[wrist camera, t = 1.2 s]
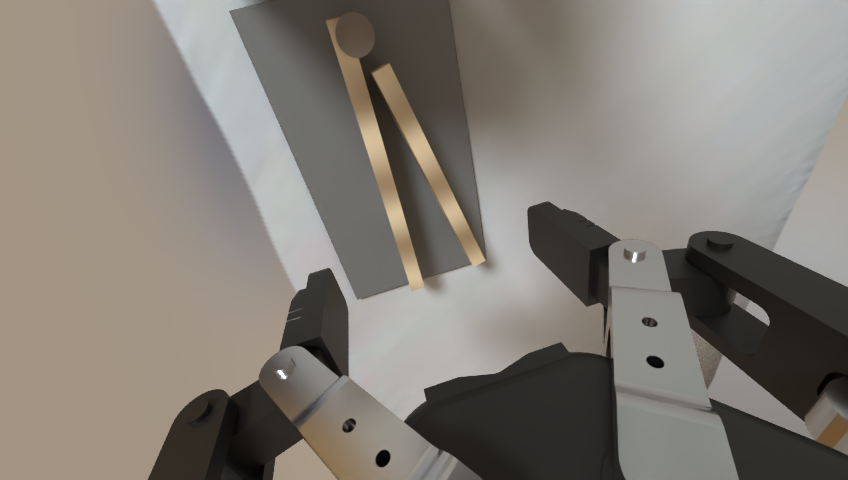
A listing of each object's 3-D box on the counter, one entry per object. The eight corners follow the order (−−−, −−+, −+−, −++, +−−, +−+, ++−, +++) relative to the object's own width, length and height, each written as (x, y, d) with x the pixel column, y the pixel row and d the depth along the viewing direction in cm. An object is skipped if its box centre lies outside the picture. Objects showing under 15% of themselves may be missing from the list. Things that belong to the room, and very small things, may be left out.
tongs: (328, 25, 24) (324, 18, 20) (365, 16, 24) (368, 7, 21) (405, 269, 36) (411, 292, 33) (429, 262, 36) (438, 283, 33)
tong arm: (369, 72, 26) (372, 73, 23) (383, 63, 26) (389, 63, 22) (461, 248, 36) (473, 267, 33) (472, 242, 36) (485, 260, 33)
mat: (231, 12, 23) (229, 11, 22) (440, -39, 24) (442, -41, 24) (357, 296, 37) (357, 299, 37) (484, 256, 38) (486, 258, 38)
